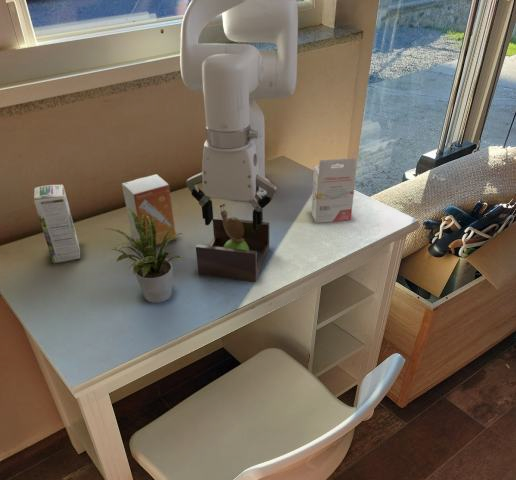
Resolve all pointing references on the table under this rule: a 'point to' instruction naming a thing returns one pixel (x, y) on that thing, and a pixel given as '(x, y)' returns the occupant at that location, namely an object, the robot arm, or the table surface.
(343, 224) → the table surface
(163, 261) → the house plant
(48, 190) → the syrup box
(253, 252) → the frame
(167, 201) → the small box
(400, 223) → the table surface
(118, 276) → the table surface
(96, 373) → the table surface
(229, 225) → the snail figurine
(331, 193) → the ink cartridge box
